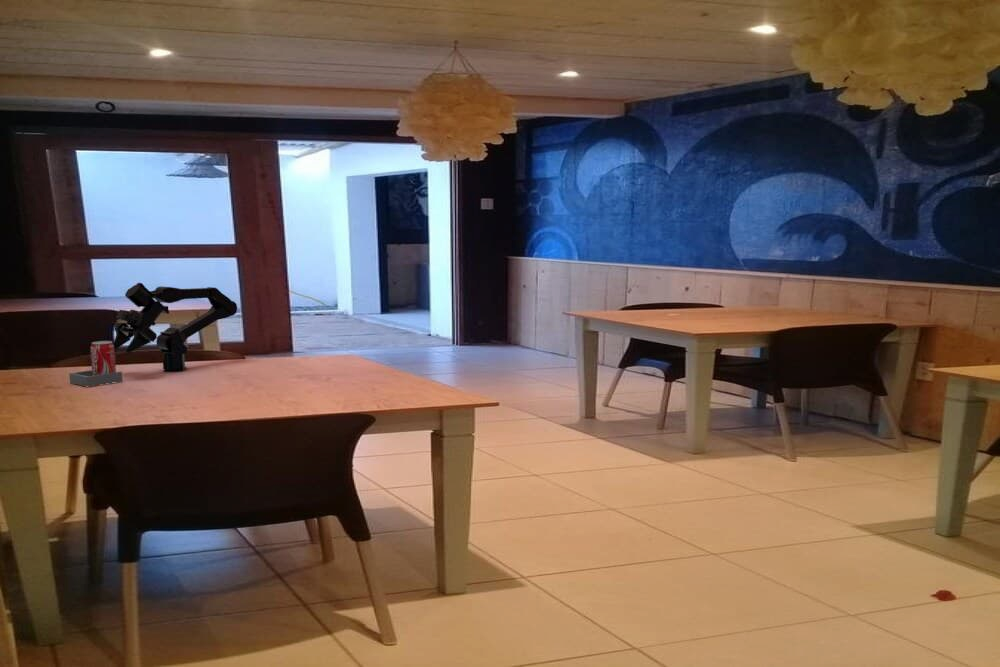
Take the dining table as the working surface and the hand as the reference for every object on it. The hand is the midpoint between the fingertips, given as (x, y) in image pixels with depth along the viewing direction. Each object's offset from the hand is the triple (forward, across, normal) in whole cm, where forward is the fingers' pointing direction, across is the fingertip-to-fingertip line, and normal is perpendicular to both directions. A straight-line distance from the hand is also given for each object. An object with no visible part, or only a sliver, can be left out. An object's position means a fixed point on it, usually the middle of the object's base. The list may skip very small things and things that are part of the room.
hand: (119, 351), depth 263 cm
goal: (+13, 0, +1) cm, 13 cm away
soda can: (+11, +1, +2) cm, 11 cm away
